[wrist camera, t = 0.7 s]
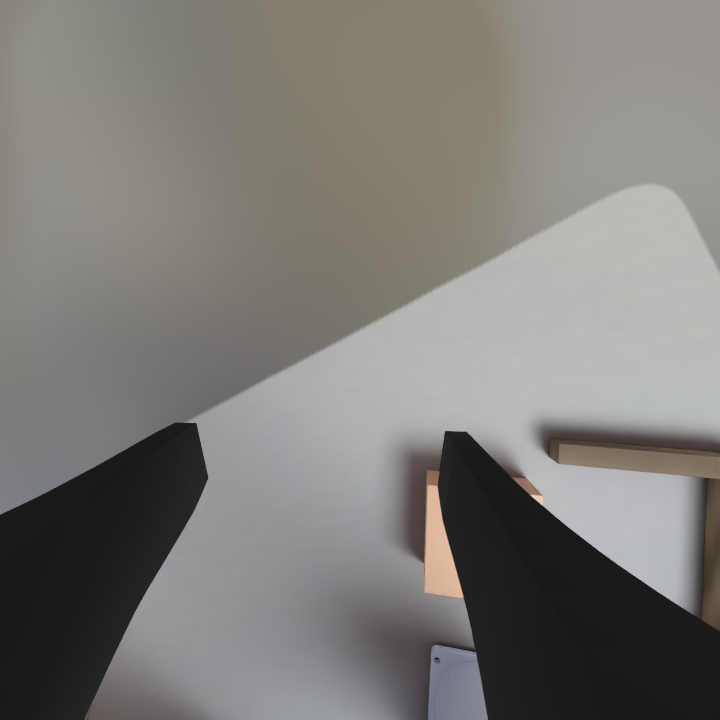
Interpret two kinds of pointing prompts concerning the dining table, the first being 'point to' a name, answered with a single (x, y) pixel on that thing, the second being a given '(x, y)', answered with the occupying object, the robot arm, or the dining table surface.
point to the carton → (446, 541)
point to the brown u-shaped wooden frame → (696, 463)
